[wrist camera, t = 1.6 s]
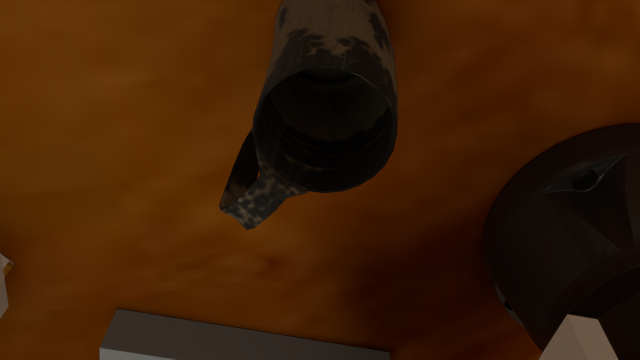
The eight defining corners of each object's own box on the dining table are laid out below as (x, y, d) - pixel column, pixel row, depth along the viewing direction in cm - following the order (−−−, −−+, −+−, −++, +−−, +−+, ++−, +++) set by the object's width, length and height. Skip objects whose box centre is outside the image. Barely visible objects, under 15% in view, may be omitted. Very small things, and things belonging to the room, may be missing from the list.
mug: (331, -55, 26) (328, 26, 16) (408, 27, 28) (447, 144, 18) (224, 59, 29) (166, 186, 19) (300, 125, 31) (283, 271, 21)
